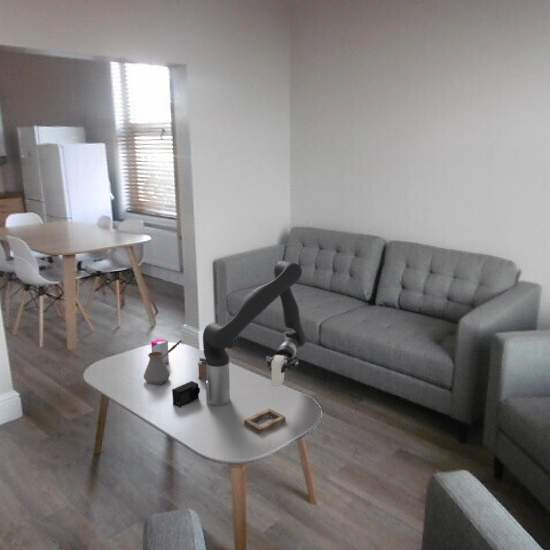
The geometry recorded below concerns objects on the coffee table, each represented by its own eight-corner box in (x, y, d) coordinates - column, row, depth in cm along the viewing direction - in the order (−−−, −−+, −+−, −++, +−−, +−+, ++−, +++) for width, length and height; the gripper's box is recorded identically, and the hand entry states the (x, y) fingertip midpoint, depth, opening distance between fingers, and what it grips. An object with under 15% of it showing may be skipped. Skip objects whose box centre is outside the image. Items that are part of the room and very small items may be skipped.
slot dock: (260, 434, 193) (260, 429, 192) (244, 424, 199) (244, 420, 198) (285, 421, 201) (285, 416, 201) (269, 412, 208) (269, 408, 207)
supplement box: (169, 362, 254) (168, 340, 251) (160, 366, 249) (159, 344, 246) (160, 359, 257) (159, 337, 254) (151, 364, 252) (150, 341, 249)
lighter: (216, 378, 237) (216, 357, 235) (213, 381, 234) (213, 360, 232) (200, 376, 239) (199, 355, 237) (197, 379, 236) (196, 358, 234)
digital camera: (181, 409, 210) (180, 393, 209) (172, 404, 214) (171, 389, 212) (200, 399, 218) (200, 384, 216) (192, 395, 221) (191, 380, 220)
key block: (271, 385, 205) (271, 362, 202) (275, 377, 211) (275, 354, 209) (280, 386, 204) (280, 363, 201) (284, 378, 210) (284, 355, 208)
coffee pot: (154, 389, 227) (152, 357, 223) (138, 381, 234) (136, 350, 230) (192, 372, 243) (190, 342, 239) (175, 366, 250) (174, 336, 246)
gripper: (269, 343, 221) (259, 359, 205) (302, 346, 218) (294, 363, 202) (269, 359, 223) (259, 377, 207) (302, 363, 220) (294, 381, 203)
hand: (276, 370), depth 204 cm, fingers closed on key block, 3 cm apart
